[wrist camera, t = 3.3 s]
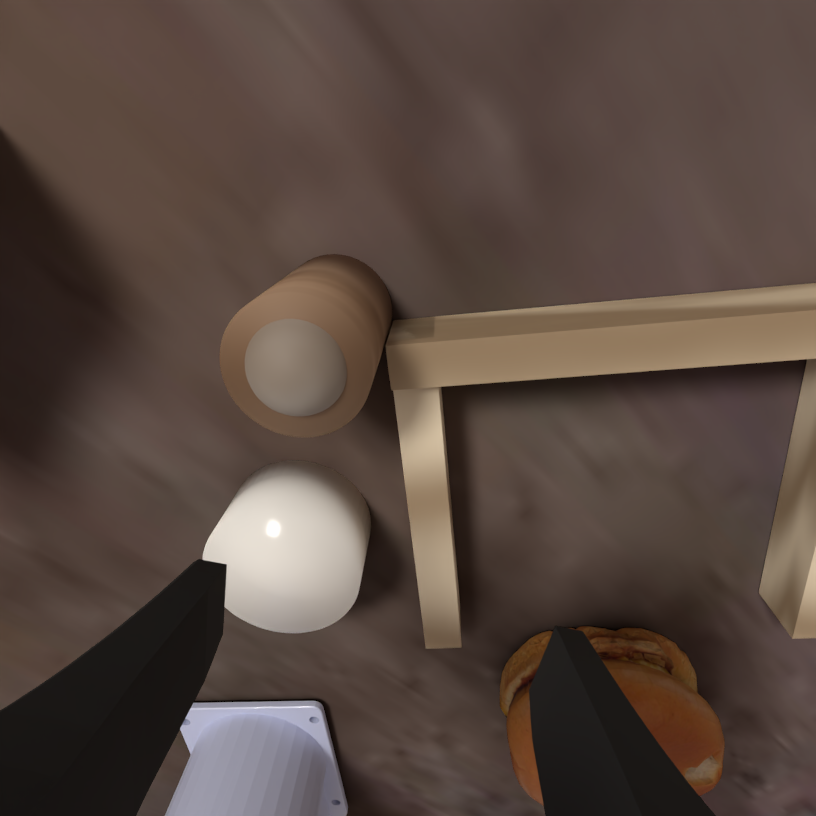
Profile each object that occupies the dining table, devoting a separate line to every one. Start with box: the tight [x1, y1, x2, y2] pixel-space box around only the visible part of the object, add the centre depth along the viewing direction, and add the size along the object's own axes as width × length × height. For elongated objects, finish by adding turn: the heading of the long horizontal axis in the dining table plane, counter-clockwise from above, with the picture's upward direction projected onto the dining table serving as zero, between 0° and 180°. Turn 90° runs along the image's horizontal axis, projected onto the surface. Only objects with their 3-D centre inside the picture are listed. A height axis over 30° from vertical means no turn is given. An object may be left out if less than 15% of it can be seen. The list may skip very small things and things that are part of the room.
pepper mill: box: [220, 254, 392, 437], centre depth 16 cm, size 4×4×7 cm
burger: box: [500, 626, 725, 806], centre depth 25 cm, size 10×9×5 cm
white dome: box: [203, 460, 371, 633], centre depth 22 cm, size 6×6×4 cm
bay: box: [386, 283, 816, 649], centre depth 20 cm, size 14×16×3 cm
